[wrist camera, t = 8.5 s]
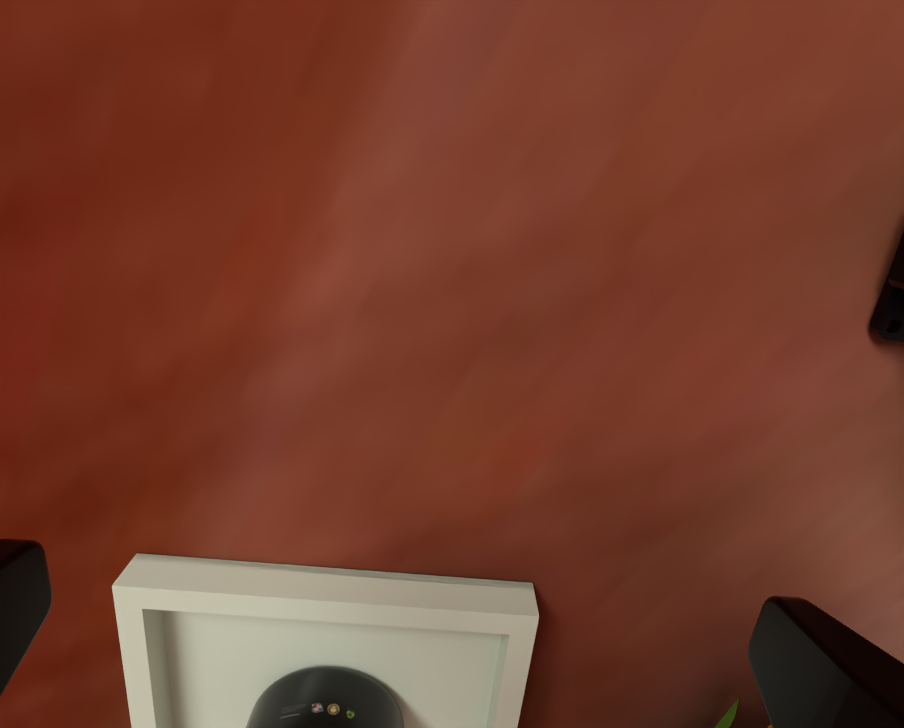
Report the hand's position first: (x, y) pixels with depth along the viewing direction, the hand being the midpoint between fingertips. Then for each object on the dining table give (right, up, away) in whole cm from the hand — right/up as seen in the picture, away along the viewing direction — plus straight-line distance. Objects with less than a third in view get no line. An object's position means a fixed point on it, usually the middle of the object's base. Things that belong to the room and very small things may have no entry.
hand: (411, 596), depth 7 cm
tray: (-5, -13, +19) cm, 23 cm away
